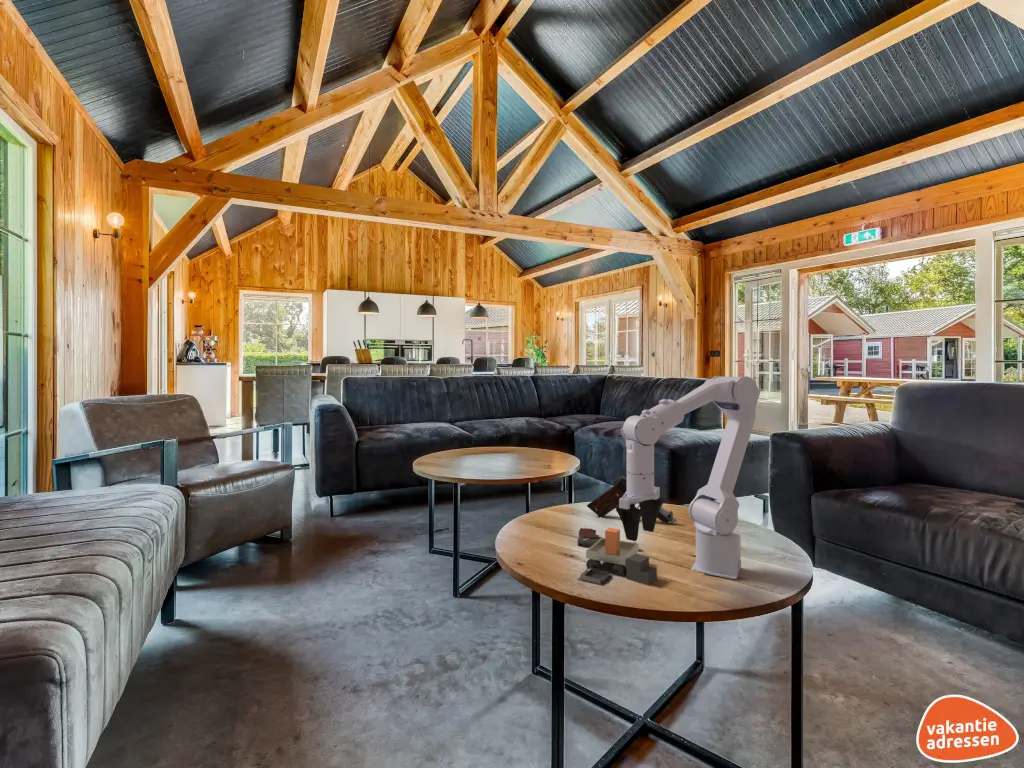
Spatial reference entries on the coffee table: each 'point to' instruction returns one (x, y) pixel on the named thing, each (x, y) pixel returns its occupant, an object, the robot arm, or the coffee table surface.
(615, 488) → the handgun
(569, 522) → the coffee table surface
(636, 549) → the trolley
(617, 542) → the orange rectangular block
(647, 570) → the block
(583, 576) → the socket
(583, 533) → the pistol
